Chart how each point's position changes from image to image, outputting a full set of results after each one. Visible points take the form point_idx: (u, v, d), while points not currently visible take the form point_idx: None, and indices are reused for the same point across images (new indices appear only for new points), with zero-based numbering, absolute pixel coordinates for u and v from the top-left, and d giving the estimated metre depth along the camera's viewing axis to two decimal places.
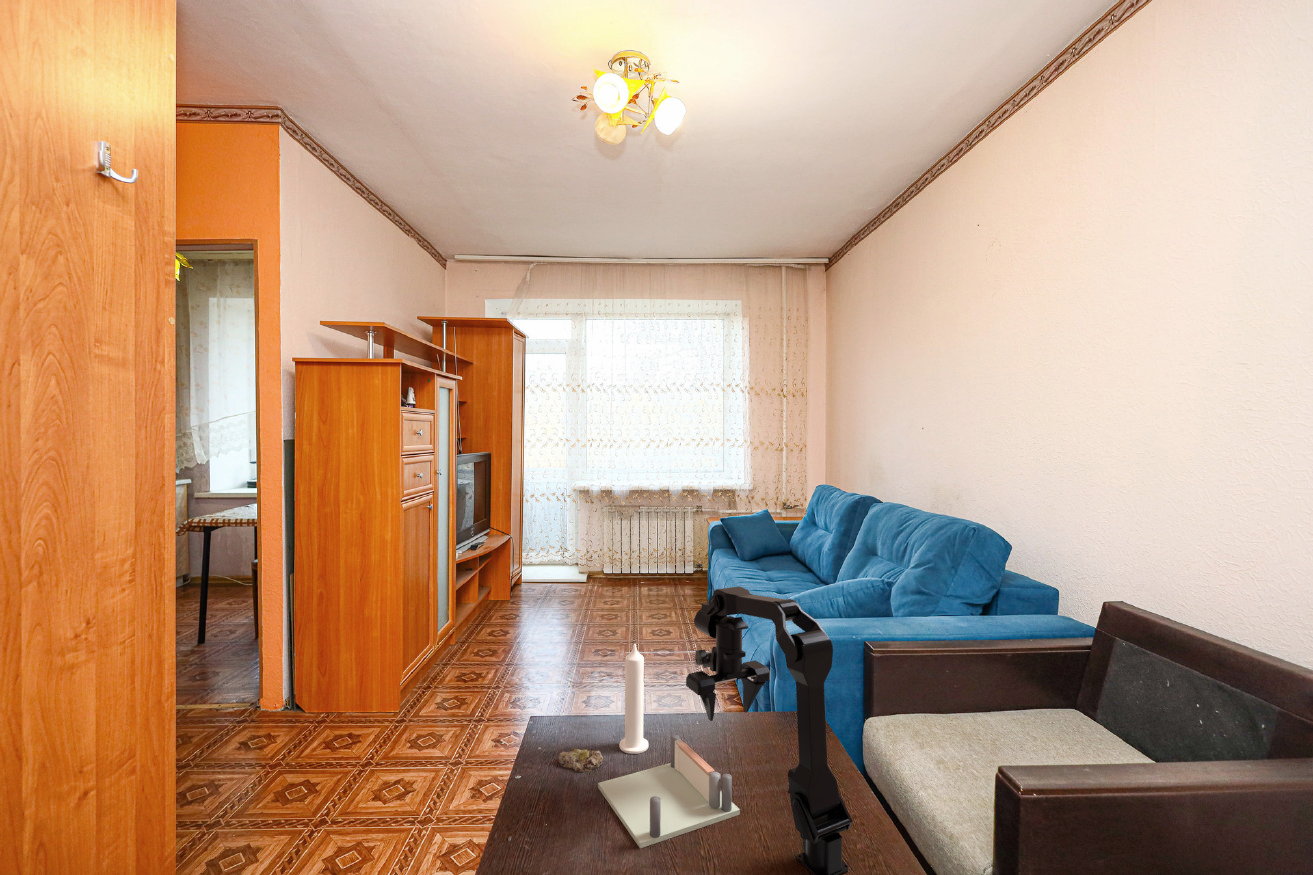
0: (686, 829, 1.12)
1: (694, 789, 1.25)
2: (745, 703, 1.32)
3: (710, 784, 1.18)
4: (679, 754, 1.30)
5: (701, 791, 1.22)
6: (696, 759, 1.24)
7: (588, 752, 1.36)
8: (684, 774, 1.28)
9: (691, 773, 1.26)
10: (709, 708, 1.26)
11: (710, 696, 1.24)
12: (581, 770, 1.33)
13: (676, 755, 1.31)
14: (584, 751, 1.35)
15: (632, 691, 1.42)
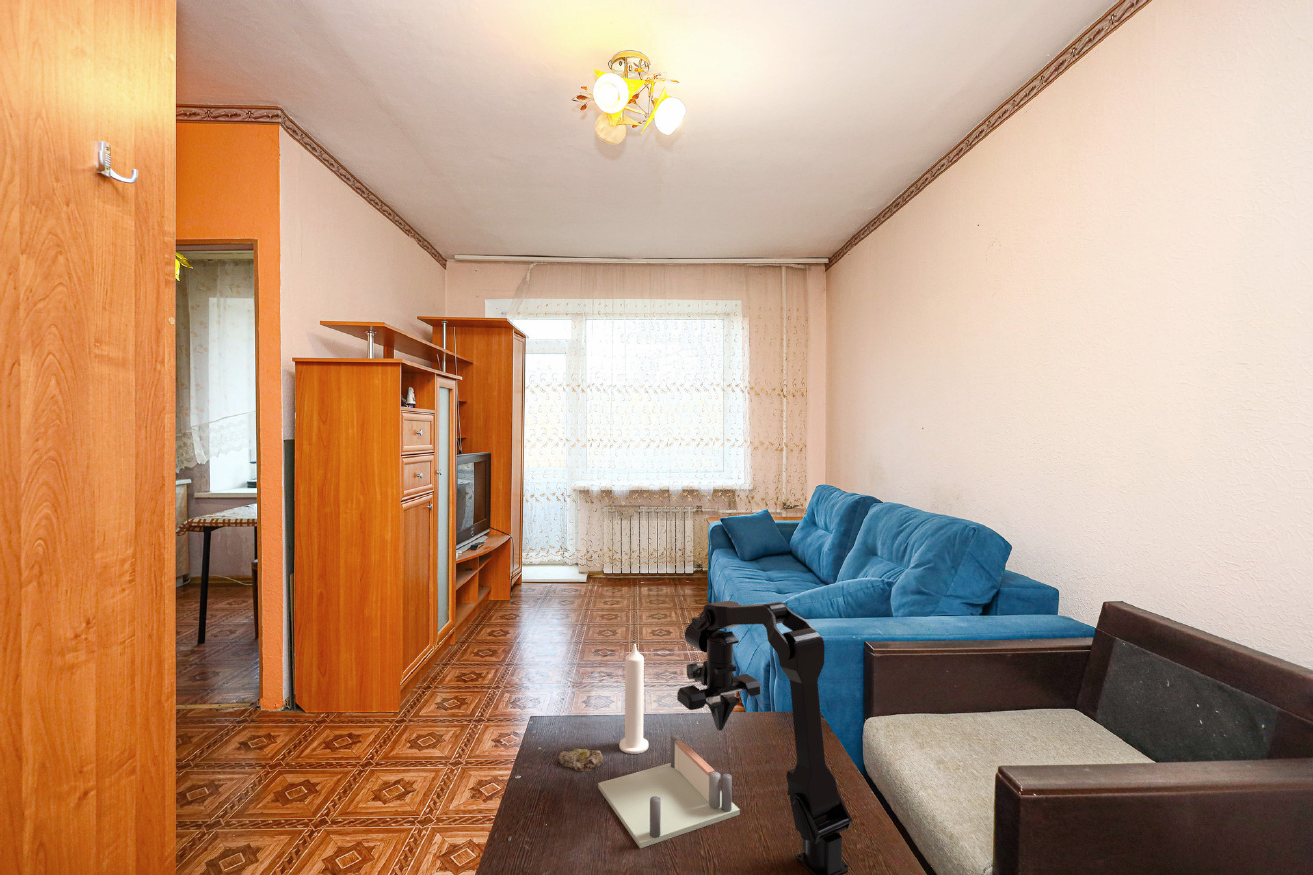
0: (686, 829, 1.12)
1: (694, 789, 1.25)
2: None
3: (710, 784, 1.18)
4: (679, 754, 1.30)
5: (701, 791, 1.22)
6: (696, 759, 1.24)
7: (588, 752, 1.37)
8: (684, 774, 1.28)
9: (691, 773, 1.26)
10: (717, 718, 1.29)
11: (718, 706, 1.27)
12: (581, 769, 1.33)
13: (676, 755, 1.31)
14: (584, 751, 1.35)
15: (632, 691, 1.42)
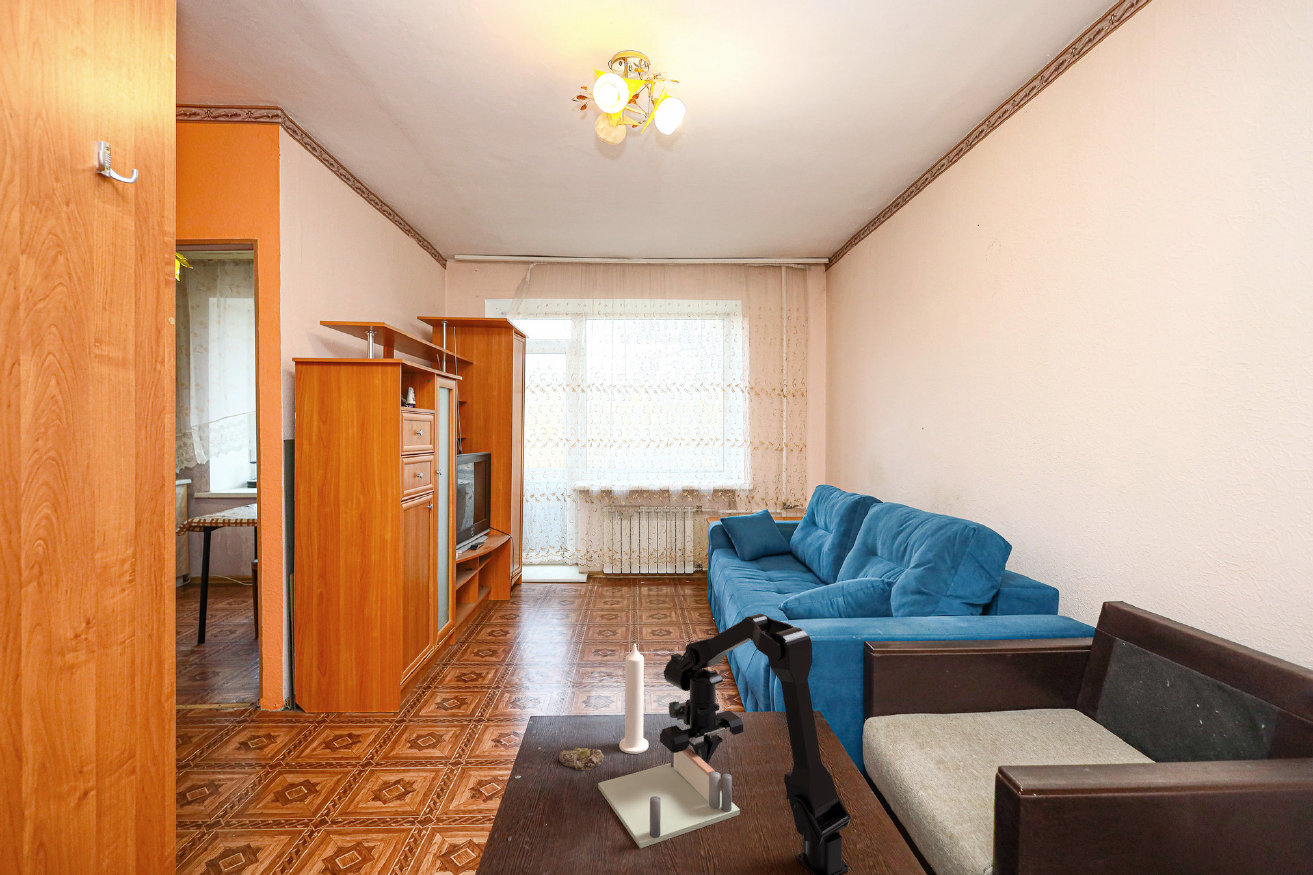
0: (686, 829, 1.12)
1: (694, 789, 1.25)
2: None
3: (710, 784, 1.18)
4: (678, 754, 1.30)
5: (701, 791, 1.22)
6: (695, 759, 1.24)
7: (589, 751, 1.37)
8: (683, 774, 1.28)
9: (690, 773, 1.26)
10: (701, 758, 1.28)
11: (702, 747, 1.26)
12: (582, 768, 1.33)
13: (675, 755, 1.31)
14: (585, 750, 1.36)
15: (632, 691, 1.42)
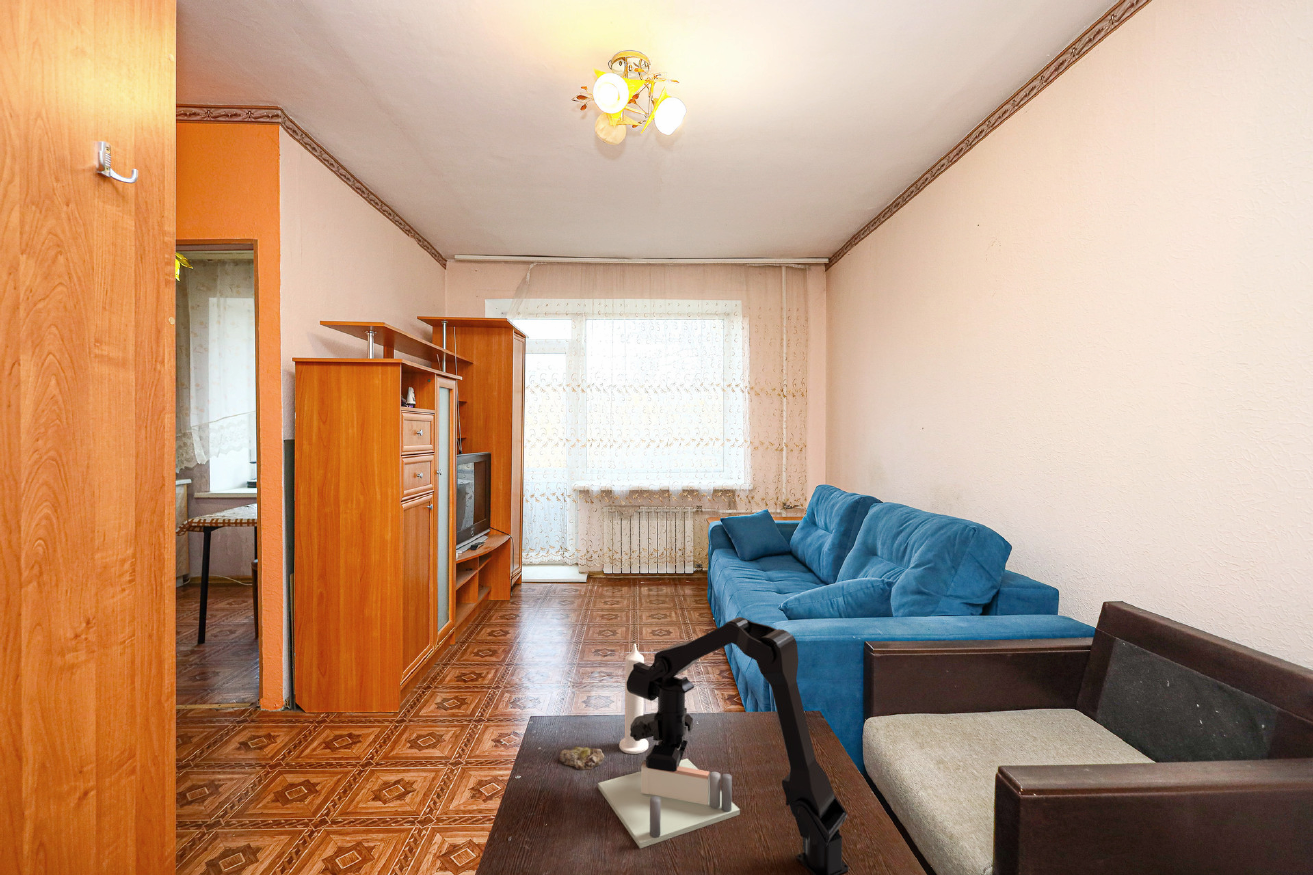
0: (686, 829, 1.12)
1: None
2: None
3: (713, 786, 1.18)
4: (650, 775, 1.22)
5: (694, 799, 1.19)
6: (682, 770, 1.20)
7: (589, 750, 1.37)
8: (660, 793, 1.22)
9: (674, 787, 1.21)
10: None
11: (682, 755, 1.22)
12: (582, 768, 1.34)
13: (645, 778, 1.22)
14: (585, 749, 1.36)
15: None
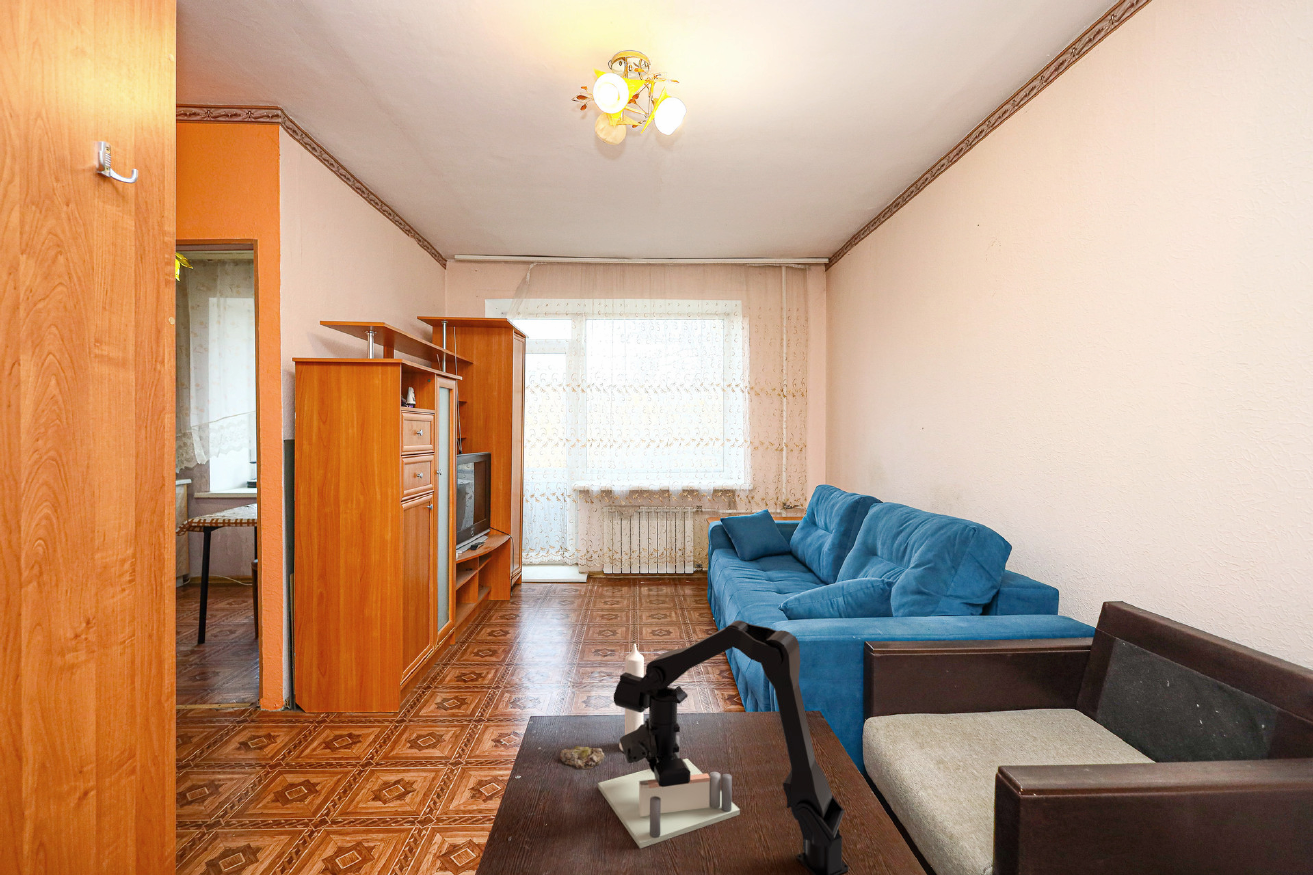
0: (686, 829, 1.12)
1: None
2: None
3: (716, 786, 1.18)
4: (650, 795, 1.15)
5: (695, 805, 1.17)
6: None
7: (590, 749, 1.37)
8: None
9: (675, 800, 1.17)
10: None
11: None
12: (582, 767, 1.34)
13: (644, 800, 1.15)
14: (586, 748, 1.36)
15: None
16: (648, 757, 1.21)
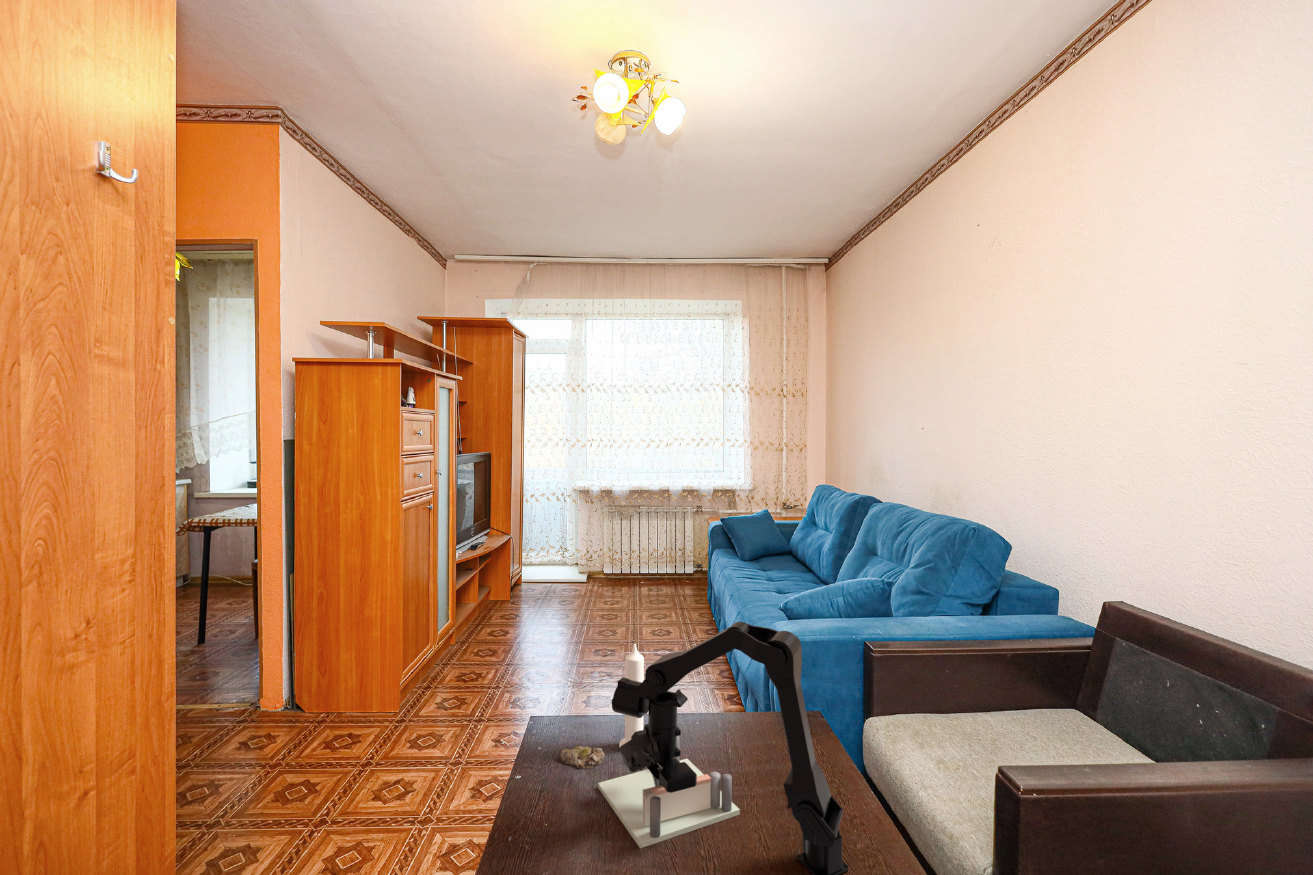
0: (686, 829, 1.12)
1: None
2: None
3: (717, 785, 1.18)
4: None
5: (697, 808, 1.17)
6: None
7: (590, 749, 1.38)
8: (664, 817, 1.14)
9: (678, 804, 1.15)
10: None
11: None
12: (583, 767, 1.34)
13: (649, 808, 1.12)
14: (586, 748, 1.37)
15: None
16: None
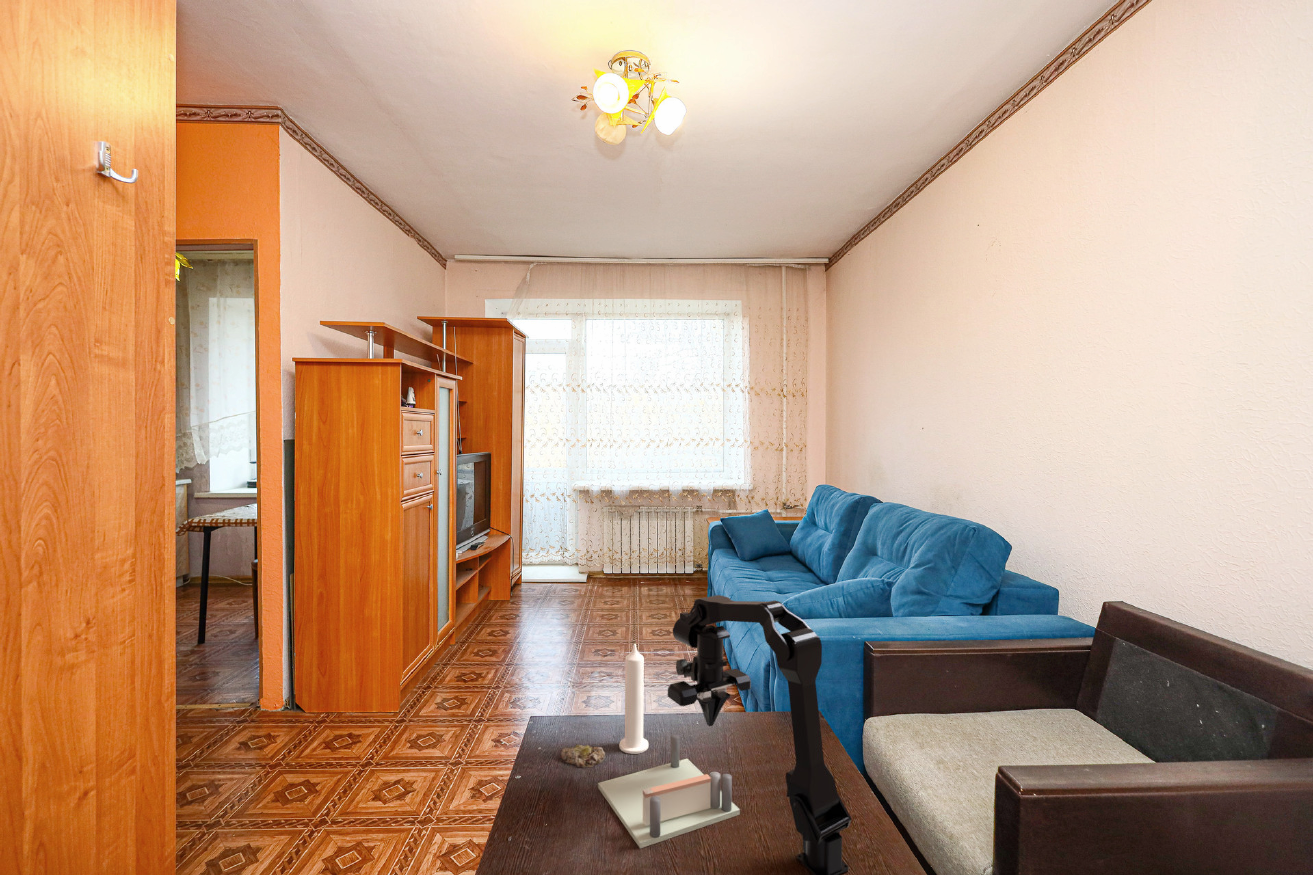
0: (686, 829, 1.12)
1: None
2: None
3: (717, 785, 1.18)
4: None
5: (697, 808, 1.17)
6: (686, 783, 1.16)
7: (590, 748, 1.38)
8: (664, 817, 1.14)
9: (678, 804, 1.15)
10: (708, 714, 1.28)
11: (709, 702, 1.26)
12: (583, 766, 1.34)
13: (649, 808, 1.12)
14: (586, 747, 1.37)
15: (632, 691, 1.42)
16: None
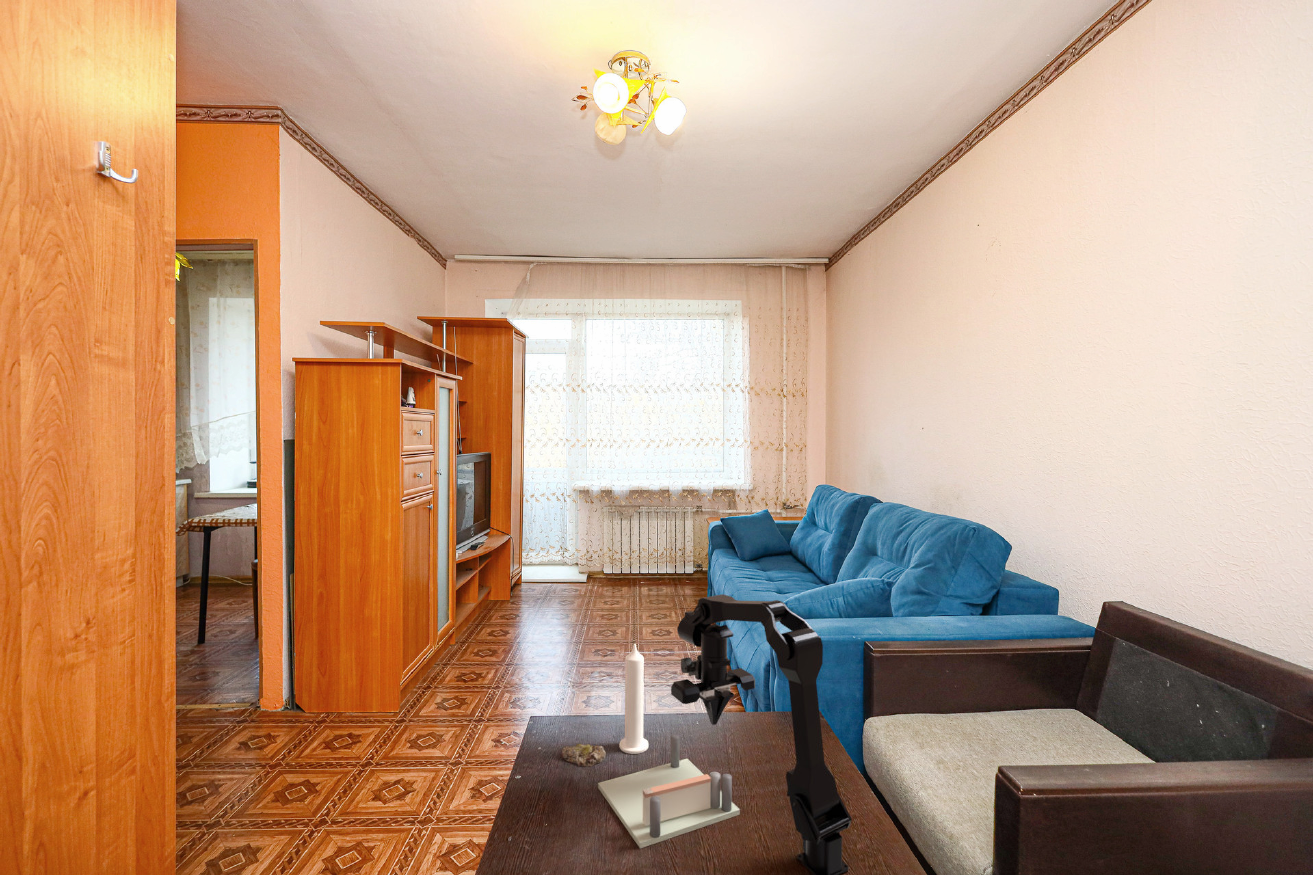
0: (686, 829, 1.12)
1: None
2: None
3: (717, 785, 1.18)
4: None
5: (697, 808, 1.17)
6: (686, 783, 1.16)
7: (591, 747, 1.39)
8: (664, 817, 1.14)
9: (678, 804, 1.15)
10: (711, 712, 1.29)
11: (712, 700, 1.27)
12: (584, 764, 1.35)
13: (649, 808, 1.12)
14: (587, 746, 1.38)
15: (632, 691, 1.42)
16: None
